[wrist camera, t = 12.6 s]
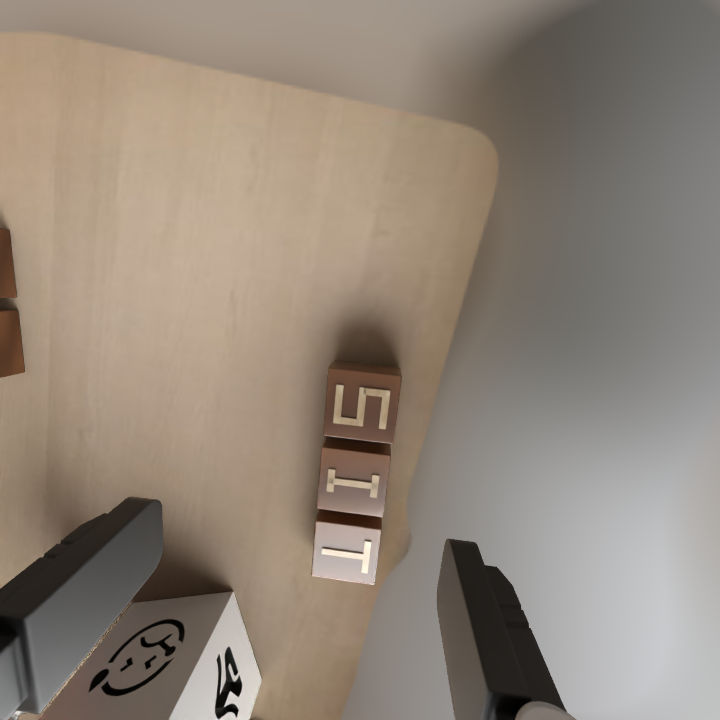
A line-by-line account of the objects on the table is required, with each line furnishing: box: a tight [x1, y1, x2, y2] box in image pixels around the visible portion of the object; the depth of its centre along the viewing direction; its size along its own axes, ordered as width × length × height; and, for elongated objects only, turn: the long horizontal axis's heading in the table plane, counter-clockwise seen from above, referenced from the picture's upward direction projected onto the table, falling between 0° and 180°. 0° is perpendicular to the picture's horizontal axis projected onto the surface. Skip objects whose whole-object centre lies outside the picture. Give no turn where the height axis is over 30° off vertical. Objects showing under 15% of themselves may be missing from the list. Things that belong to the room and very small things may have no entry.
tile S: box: [323, 361, 402, 444], centre depth 25 cm, size 5×5×3 cm
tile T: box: [311, 509, 382, 585], centre depth 27 cm, size 5×5×3 cm
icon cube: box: [39, 591, 262, 720], centre depth 27 cm, size 10×10×10 cm
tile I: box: [317, 436, 391, 517], centre depth 26 cm, size 5×5×3 cm
